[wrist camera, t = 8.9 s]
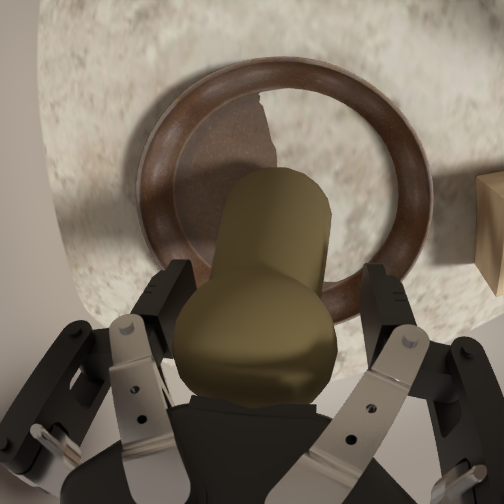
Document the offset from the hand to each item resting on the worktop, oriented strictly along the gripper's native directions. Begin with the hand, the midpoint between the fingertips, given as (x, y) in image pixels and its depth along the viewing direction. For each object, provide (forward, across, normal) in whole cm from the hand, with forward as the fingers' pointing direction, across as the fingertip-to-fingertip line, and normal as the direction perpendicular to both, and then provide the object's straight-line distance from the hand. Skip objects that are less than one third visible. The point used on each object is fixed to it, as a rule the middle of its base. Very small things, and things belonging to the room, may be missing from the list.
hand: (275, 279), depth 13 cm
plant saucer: (+9, 0, 0) cm, 9 cm away
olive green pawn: (+6, 0, 0) cm, 6 cm away
